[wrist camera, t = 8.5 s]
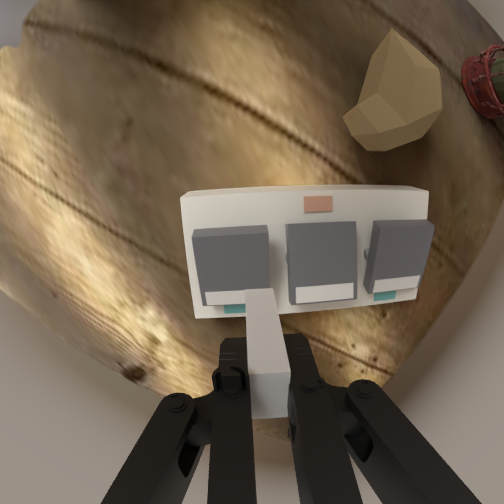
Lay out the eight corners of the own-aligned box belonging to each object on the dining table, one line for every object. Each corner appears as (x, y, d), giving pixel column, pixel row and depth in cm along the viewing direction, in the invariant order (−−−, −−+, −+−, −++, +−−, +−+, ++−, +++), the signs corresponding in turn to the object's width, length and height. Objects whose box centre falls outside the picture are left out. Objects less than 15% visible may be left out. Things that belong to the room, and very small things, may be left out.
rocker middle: (285, 224, 30) (287, 223, 28) (350, 221, 30) (356, 221, 28) (288, 300, 31) (291, 305, 29) (351, 295, 31) (357, 299, 29)
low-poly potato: (399, 50, 29) (341, 17, 23) (470, 70, 21) (425, 26, 16) (373, 146, 37) (312, 136, 32) (436, 181, 30) (385, 175, 24)
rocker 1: (193, 229, 28) (191, 238, 27) (266, 224, 28) (268, 233, 27) (204, 295, 32) (202, 307, 30) (268, 292, 32) (269, 303, 31)
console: (188, 191, 34) (178, 199, 28) (408, 185, 34) (433, 192, 29) (200, 300, 39) (194, 324, 33) (399, 284, 39) (418, 304, 33)
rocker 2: (373, 220, 28) (381, 228, 27) (426, 219, 29) (435, 226, 27) (362, 284, 32) (368, 294, 31) (412, 279, 33) (419, 288, 31)
